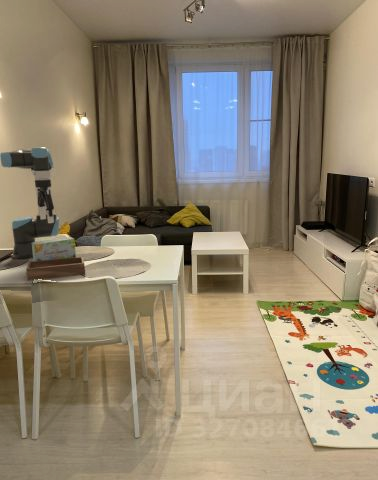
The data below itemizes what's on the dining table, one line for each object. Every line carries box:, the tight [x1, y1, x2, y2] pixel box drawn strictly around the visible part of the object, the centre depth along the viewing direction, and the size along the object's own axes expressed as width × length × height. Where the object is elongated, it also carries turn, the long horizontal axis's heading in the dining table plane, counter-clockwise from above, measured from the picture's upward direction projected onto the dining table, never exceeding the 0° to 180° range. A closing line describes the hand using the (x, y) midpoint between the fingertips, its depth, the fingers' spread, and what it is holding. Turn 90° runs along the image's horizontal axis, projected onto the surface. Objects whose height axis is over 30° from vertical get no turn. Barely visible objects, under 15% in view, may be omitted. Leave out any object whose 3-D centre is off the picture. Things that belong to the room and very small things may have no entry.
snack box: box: [32, 236, 77, 262], centre depth 198 cm, size 21×6×15 cm, turn 126°
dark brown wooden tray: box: [25, 256, 86, 282], centre depth 187 cm, size 14×27×6 cm, turn 108°
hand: (47, 221), depth 188 cm, fingers open, 13 cm apart
